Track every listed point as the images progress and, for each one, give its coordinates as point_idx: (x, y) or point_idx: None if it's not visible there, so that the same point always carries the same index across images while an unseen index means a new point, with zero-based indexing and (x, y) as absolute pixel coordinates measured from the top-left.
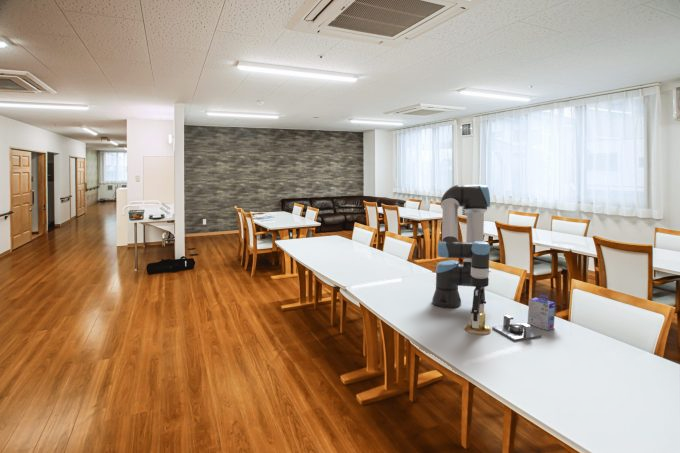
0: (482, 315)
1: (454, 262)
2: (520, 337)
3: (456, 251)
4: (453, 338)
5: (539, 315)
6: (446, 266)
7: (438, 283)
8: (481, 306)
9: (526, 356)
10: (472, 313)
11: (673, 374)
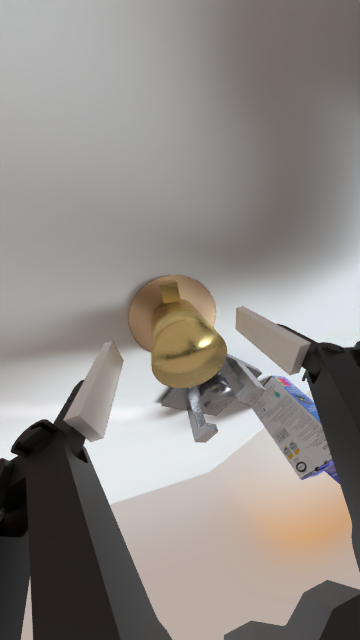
0: (176, 384)
1: None
2: (180, 406)
3: None
4: (6, 286)
5: (280, 421)
6: None
7: None
8: (279, 354)
9: (106, 435)
10: (66, 415)
11: (185, 479)
